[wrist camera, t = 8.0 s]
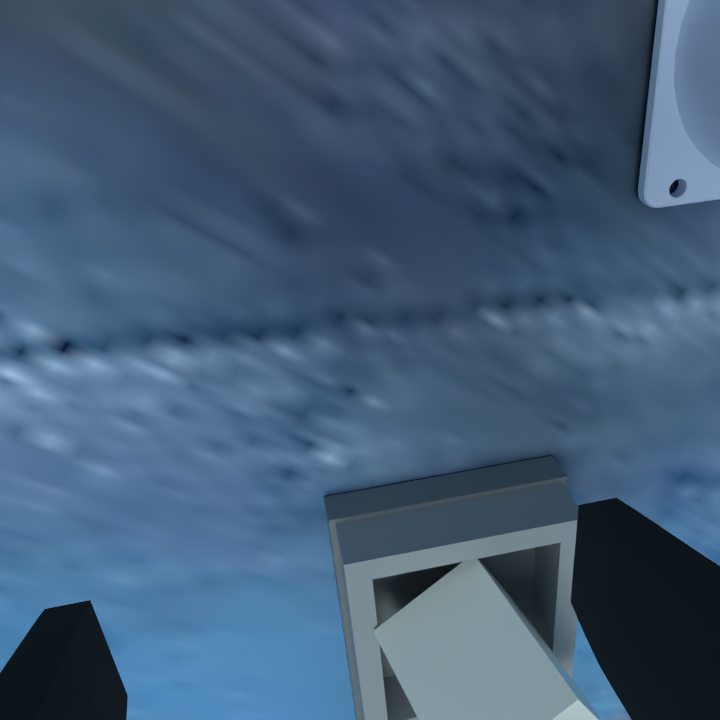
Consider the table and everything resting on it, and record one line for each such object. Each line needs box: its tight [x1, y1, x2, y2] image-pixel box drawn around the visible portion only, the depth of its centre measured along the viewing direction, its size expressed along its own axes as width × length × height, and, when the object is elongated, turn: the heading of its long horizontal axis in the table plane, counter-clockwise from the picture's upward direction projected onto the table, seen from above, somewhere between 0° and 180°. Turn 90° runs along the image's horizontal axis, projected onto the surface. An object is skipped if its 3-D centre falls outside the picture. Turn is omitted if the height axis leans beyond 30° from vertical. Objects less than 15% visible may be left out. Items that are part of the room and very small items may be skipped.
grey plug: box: [373, 559, 602, 720], centre depth 20 cm, size 4×5×6 cm
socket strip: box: [324, 456, 578, 720], centre depth 25 cm, size 8×19×3 cm, turn 5°
